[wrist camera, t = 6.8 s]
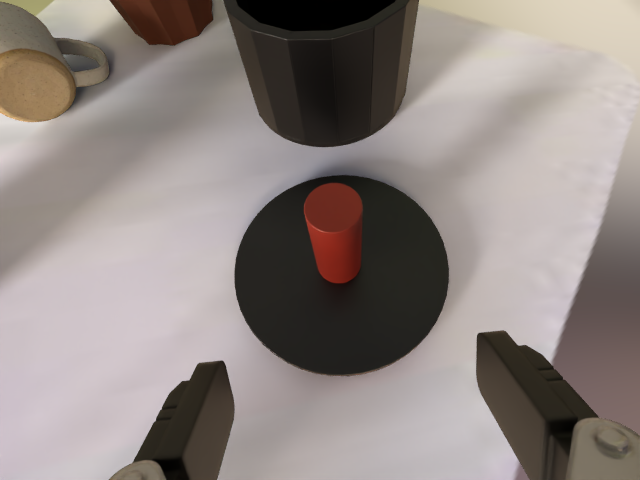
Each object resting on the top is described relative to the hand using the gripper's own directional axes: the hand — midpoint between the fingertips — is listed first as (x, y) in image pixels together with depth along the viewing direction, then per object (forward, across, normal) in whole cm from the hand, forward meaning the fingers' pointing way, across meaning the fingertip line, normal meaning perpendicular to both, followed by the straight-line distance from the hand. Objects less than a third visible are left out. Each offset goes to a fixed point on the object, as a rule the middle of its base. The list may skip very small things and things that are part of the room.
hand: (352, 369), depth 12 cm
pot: (+28, +1, +10) cm, 29 cm away
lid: (+14, 0, -2) cm, 15 cm away
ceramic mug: (+31, -26, +13) cm, 42 cm away
